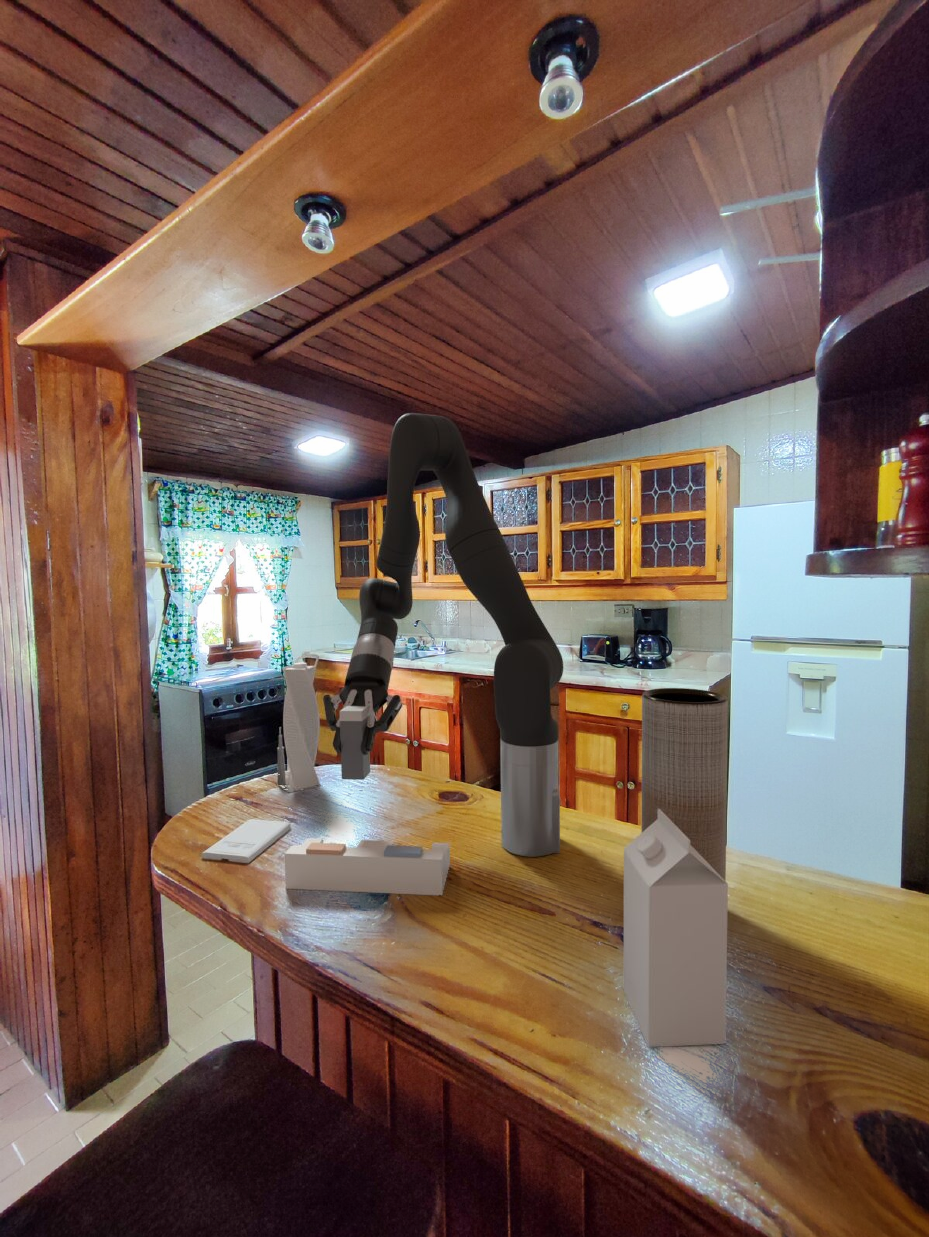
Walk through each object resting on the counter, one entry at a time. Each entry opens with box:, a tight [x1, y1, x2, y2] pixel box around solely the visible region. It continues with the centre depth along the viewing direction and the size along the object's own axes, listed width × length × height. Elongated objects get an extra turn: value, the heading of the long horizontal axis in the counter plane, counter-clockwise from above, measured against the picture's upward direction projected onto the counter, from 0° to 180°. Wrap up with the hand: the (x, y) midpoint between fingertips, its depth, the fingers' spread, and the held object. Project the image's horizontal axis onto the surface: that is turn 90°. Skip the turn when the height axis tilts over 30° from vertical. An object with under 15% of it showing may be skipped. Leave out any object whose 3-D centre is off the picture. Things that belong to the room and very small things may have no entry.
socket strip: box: [284, 837, 451, 897], centre depth 79 cm, size 22×8×6 cm, turn 84°
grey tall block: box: [339, 706, 371, 781], centre depth 89 cm, size 4×4×11 cm
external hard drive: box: [201, 818, 292, 864], centre depth 91 cm, size 2×8×12 cm
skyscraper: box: [276, 654, 321, 793], centre depth 117 cm, size 8×8×28 cm
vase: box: [641, 687, 729, 882], centre depth 69 cm, size 10×10×28 cm
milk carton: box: [623, 809, 729, 1048], centre depth 52 cm, size 7×7×19 cm
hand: (351, 751), depth 87 cm, fingers closed on grey tall block, 3 cm apart
